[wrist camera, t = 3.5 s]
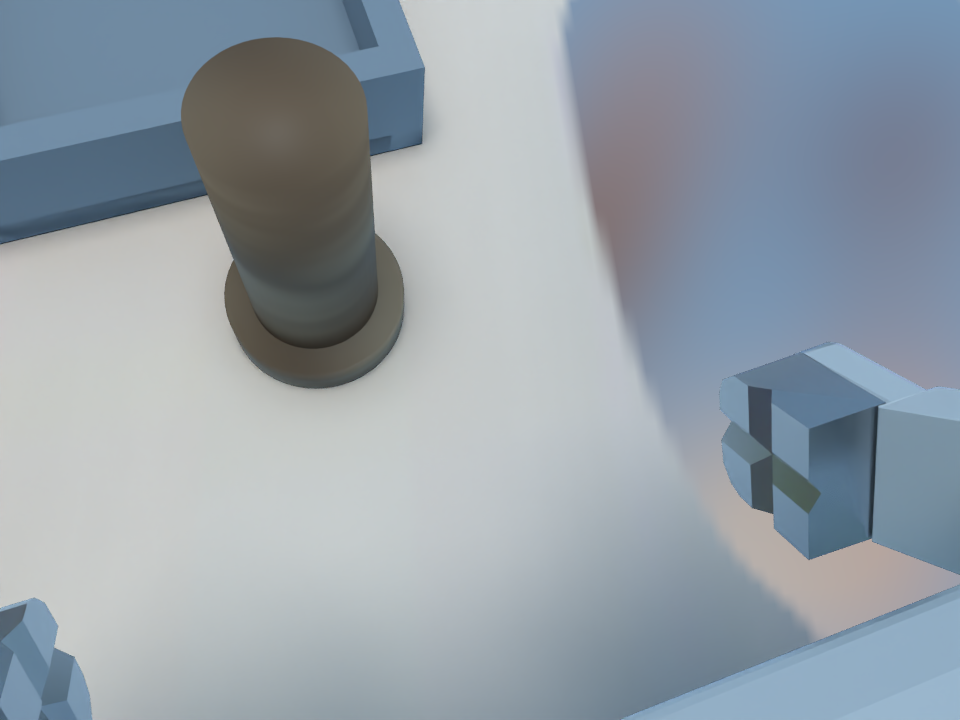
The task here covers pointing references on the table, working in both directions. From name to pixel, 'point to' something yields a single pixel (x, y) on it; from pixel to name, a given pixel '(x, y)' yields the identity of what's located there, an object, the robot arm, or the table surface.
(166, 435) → the table surface
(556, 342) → the table surface
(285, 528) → the table surface
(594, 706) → the table surface
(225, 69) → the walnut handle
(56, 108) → the tray
